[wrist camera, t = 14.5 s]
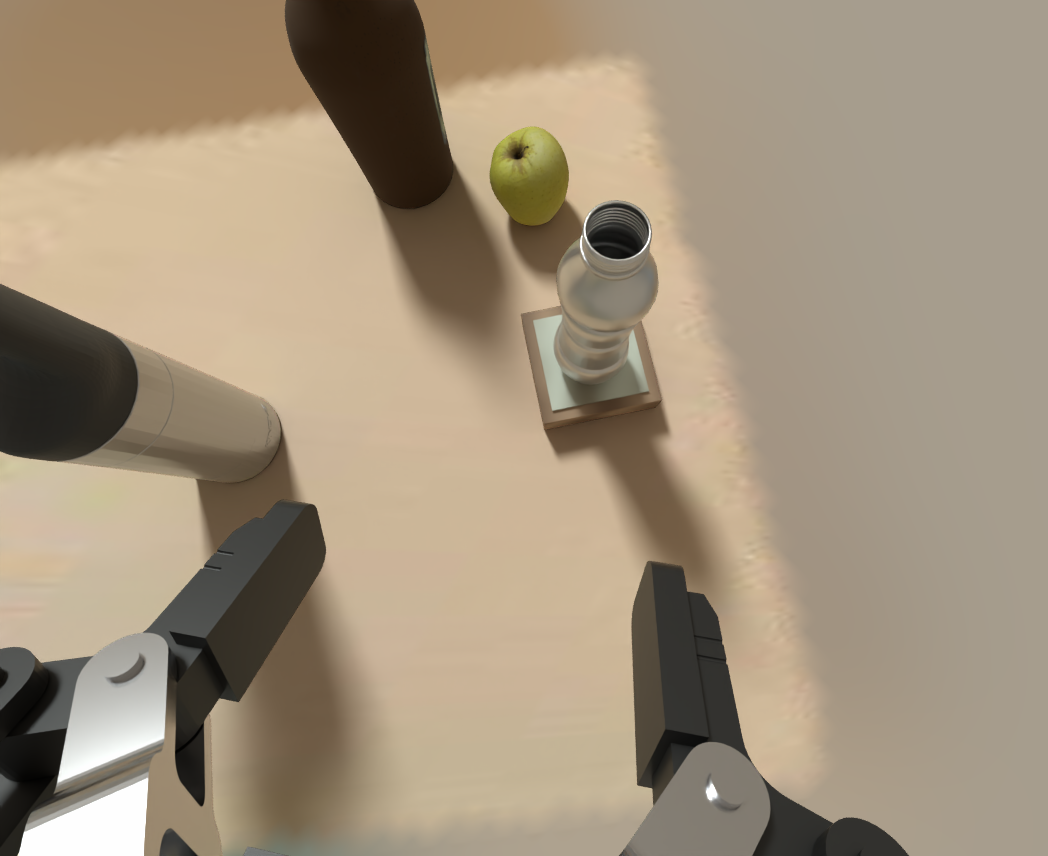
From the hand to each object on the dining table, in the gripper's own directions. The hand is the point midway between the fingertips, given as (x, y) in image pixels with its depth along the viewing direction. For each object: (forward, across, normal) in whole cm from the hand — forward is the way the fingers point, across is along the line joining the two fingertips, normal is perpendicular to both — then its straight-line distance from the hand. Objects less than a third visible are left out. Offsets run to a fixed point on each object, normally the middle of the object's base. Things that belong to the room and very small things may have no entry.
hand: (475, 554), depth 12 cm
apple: (+49, +5, +1) cm, 49 cm away
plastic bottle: (+34, -3, +11) cm, 36 cm away
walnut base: (+36, -3, +13) cm, 39 cm away
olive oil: (+50, +19, -1) cm, 54 cm away
